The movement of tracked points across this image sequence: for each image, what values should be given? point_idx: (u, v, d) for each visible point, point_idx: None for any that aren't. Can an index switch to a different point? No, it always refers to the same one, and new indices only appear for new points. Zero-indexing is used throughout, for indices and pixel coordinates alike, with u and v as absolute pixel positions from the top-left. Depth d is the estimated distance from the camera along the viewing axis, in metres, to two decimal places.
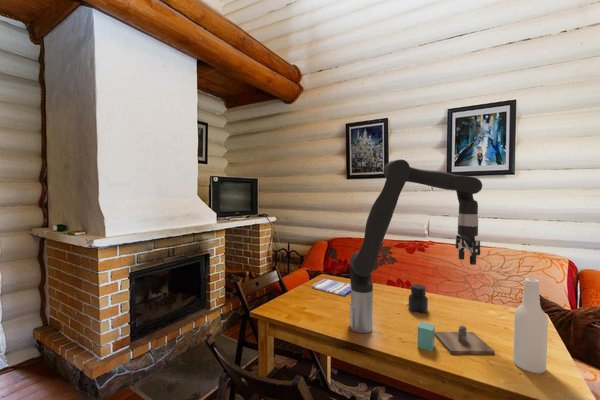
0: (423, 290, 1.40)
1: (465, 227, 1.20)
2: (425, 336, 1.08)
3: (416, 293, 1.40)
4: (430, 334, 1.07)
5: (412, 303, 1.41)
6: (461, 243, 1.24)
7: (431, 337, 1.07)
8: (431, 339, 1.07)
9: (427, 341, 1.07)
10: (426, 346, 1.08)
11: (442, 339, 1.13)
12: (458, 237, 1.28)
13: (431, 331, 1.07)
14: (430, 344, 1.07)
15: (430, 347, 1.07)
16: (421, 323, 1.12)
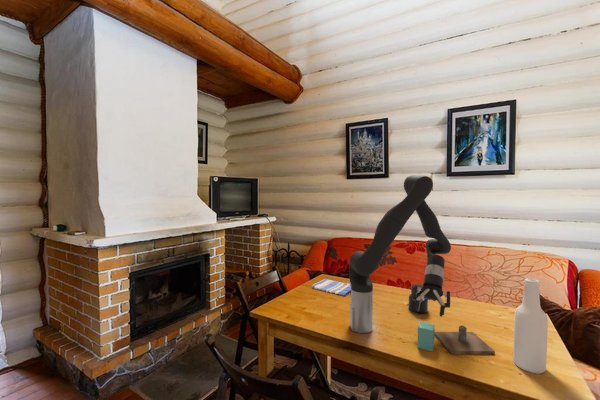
0: None
1: (440, 277, 1.21)
2: (425, 336, 1.08)
3: None
4: (430, 334, 1.07)
5: (412, 303, 1.41)
6: (427, 293, 1.19)
7: (431, 337, 1.07)
8: (431, 339, 1.07)
9: (427, 341, 1.07)
10: (426, 346, 1.08)
11: (442, 339, 1.13)
12: (417, 288, 1.23)
13: (431, 331, 1.07)
14: (430, 344, 1.07)
15: (430, 347, 1.07)
16: (421, 323, 1.12)
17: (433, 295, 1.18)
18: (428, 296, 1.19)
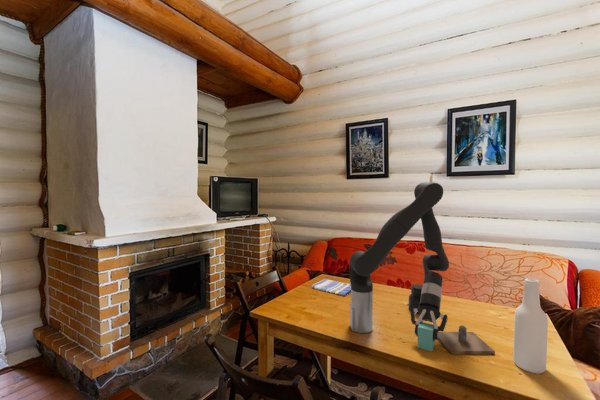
0: None
1: (437, 297, 1.14)
2: (425, 336, 1.08)
3: (416, 293, 1.40)
4: (430, 334, 1.07)
5: (412, 303, 1.41)
6: (424, 314, 1.13)
7: (431, 337, 1.07)
8: (431, 339, 1.07)
9: (427, 341, 1.07)
10: (426, 346, 1.08)
11: (442, 339, 1.13)
12: (413, 309, 1.16)
13: (431, 331, 1.07)
14: (430, 344, 1.07)
15: (430, 347, 1.07)
16: (421, 323, 1.12)
17: (430, 316, 1.12)
18: (426, 317, 1.12)
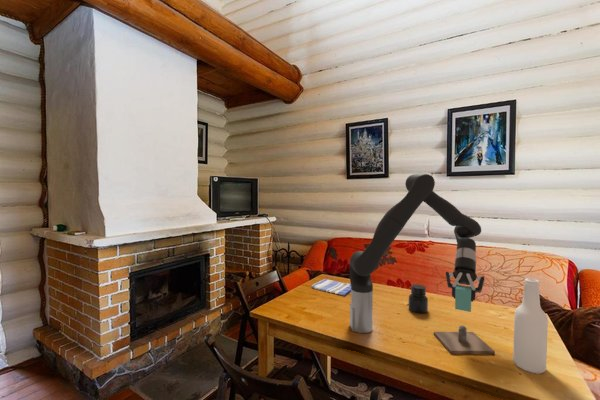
0: (423, 290, 1.40)
1: (472, 260, 1.16)
2: (463, 297, 1.09)
3: (416, 293, 1.40)
4: (468, 295, 1.08)
5: (412, 303, 1.41)
6: (461, 277, 1.14)
7: (469, 298, 1.08)
8: (469, 300, 1.08)
9: (465, 302, 1.09)
10: (464, 307, 1.09)
11: (442, 339, 1.13)
12: (449, 273, 1.18)
13: (469, 292, 1.08)
14: (469, 304, 1.08)
15: (468, 308, 1.08)
16: (458, 286, 1.13)
17: (466, 279, 1.13)
18: (463, 280, 1.13)
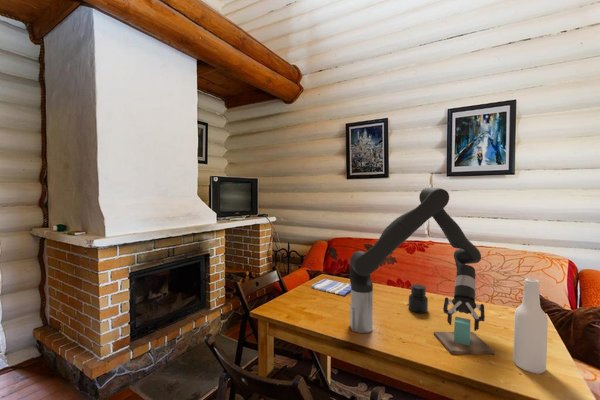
0: (423, 290, 1.40)
1: (472, 289, 1.16)
2: (462, 330, 1.10)
3: (416, 293, 1.40)
4: (467, 328, 1.09)
5: (412, 303, 1.41)
6: (459, 305, 1.15)
7: (468, 331, 1.08)
8: (468, 333, 1.09)
9: (464, 335, 1.09)
10: (463, 340, 1.10)
11: (442, 339, 1.13)
12: (448, 300, 1.19)
13: (468, 325, 1.08)
14: (467, 338, 1.09)
15: (467, 341, 1.09)
16: (457, 318, 1.14)
17: (466, 308, 1.14)
18: (460, 309, 1.14)
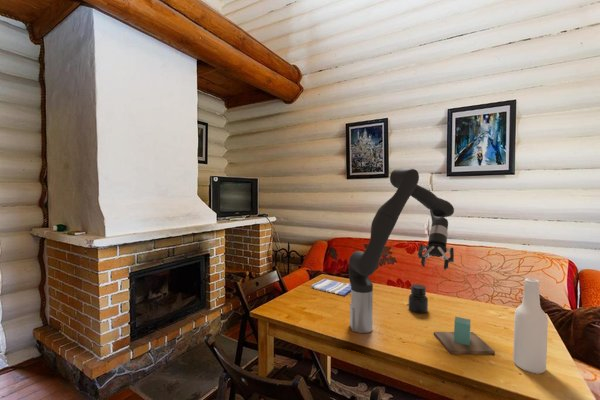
0: (423, 290, 1.40)
1: (444, 236, 1.29)
2: (462, 330, 1.10)
3: (416, 293, 1.40)
4: (467, 328, 1.09)
5: (412, 303, 1.41)
6: (432, 250, 1.28)
7: (468, 331, 1.08)
8: (468, 333, 1.09)
9: (464, 335, 1.09)
10: (463, 340, 1.10)
11: (442, 339, 1.13)
12: (422, 246, 1.32)
13: (468, 325, 1.08)
14: (467, 338, 1.09)
15: (467, 341, 1.09)
16: (457, 318, 1.14)
17: (438, 251, 1.27)
18: (433, 253, 1.27)
